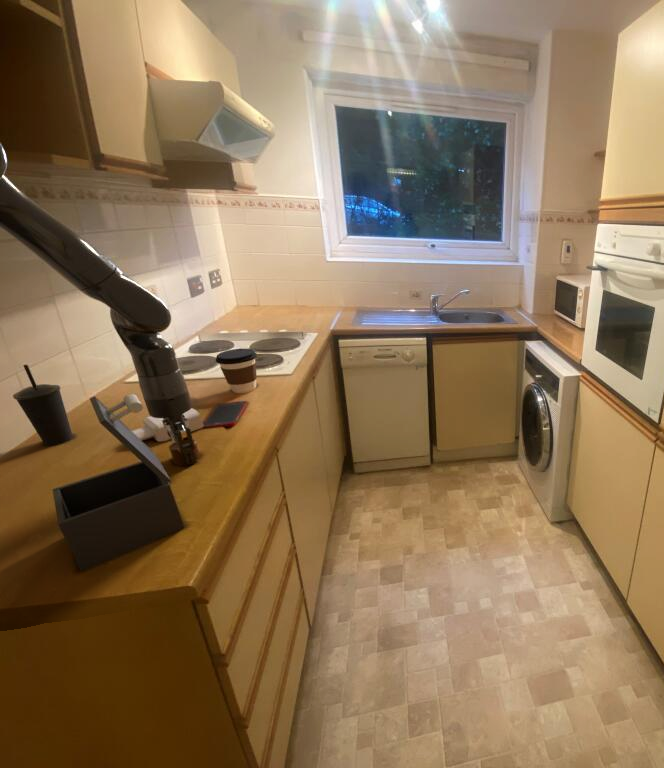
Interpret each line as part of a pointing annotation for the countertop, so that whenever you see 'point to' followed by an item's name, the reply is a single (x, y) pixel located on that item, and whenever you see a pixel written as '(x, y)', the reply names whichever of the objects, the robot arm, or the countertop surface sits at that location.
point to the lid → (128, 431)
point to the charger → (158, 430)
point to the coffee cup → (239, 369)
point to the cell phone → (225, 414)
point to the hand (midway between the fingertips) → (187, 460)
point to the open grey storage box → (115, 513)
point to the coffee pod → (177, 455)
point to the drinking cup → (45, 411)
